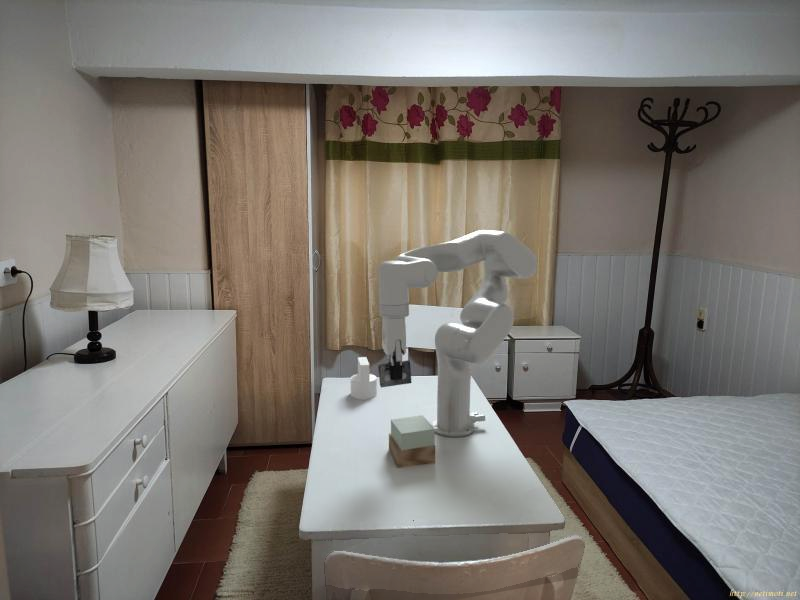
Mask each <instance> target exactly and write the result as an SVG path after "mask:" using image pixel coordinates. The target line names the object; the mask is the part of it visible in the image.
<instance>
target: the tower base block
mask: <svg viewBox="0 0 800 600" xmlns="http://www.w3.org/2000/svg"><path fill="white" fill-rule="evenodd" d="M388 451H389V453H390V455H391V457H392V459H393V462H394V463H395V466H396V468H397V469H400V468H408V467H415V466H425V465H430V464H436V445H433V446H427V447H420V448H414V449H407V450H401V449H400V448H399V446H398V445H397V443H396V442H395V440H394V439H393V438H392V436H391V433H388Z"/></svg>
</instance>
